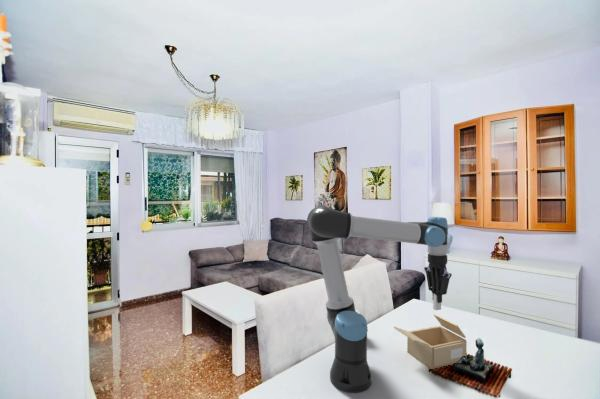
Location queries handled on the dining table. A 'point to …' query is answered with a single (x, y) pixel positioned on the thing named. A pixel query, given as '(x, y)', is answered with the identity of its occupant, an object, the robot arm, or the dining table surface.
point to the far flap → (449, 325)
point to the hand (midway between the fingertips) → (437, 309)
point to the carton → (436, 347)
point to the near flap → (411, 336)
